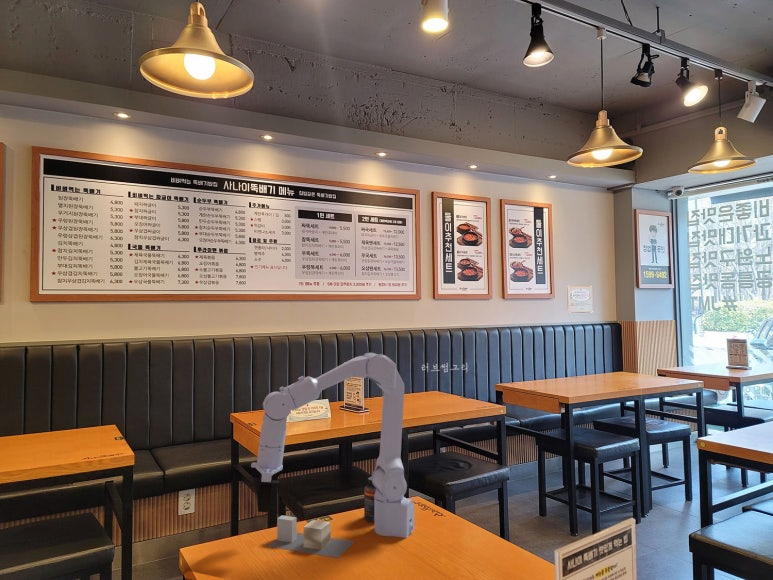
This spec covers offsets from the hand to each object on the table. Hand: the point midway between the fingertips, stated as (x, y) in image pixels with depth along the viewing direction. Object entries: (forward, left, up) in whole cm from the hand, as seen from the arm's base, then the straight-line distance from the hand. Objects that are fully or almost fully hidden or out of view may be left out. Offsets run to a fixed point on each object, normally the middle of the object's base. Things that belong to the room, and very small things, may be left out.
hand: (264, 505), depth 120 cm
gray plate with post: (-9, -5, -10) cm, 15 cm away
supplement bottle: (-17, -25, -10) cm, 32 cm away
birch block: (-11, -5, -9) cm, 15 cm away
